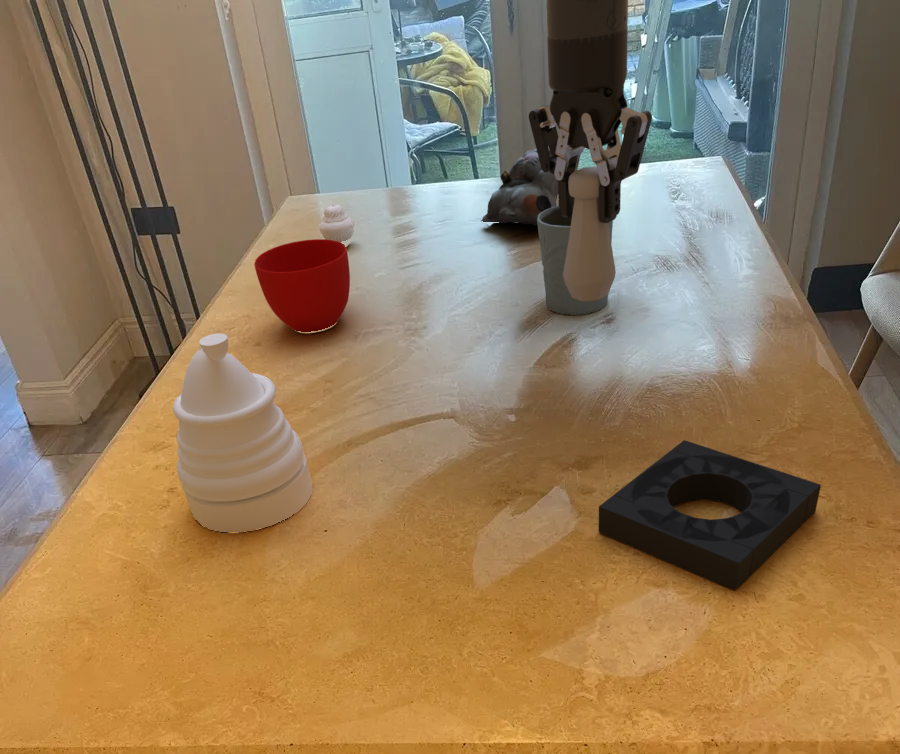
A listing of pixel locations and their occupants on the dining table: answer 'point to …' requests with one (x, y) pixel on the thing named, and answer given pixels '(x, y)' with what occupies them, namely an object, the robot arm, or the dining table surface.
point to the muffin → (336, 224)
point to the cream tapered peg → (588, 241)
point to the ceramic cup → (306, 282)
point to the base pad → (703, 540)
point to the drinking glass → (560, 264)
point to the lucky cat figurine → (523, 192)
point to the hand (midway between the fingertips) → (588, 217)
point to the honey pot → (236, 445)
